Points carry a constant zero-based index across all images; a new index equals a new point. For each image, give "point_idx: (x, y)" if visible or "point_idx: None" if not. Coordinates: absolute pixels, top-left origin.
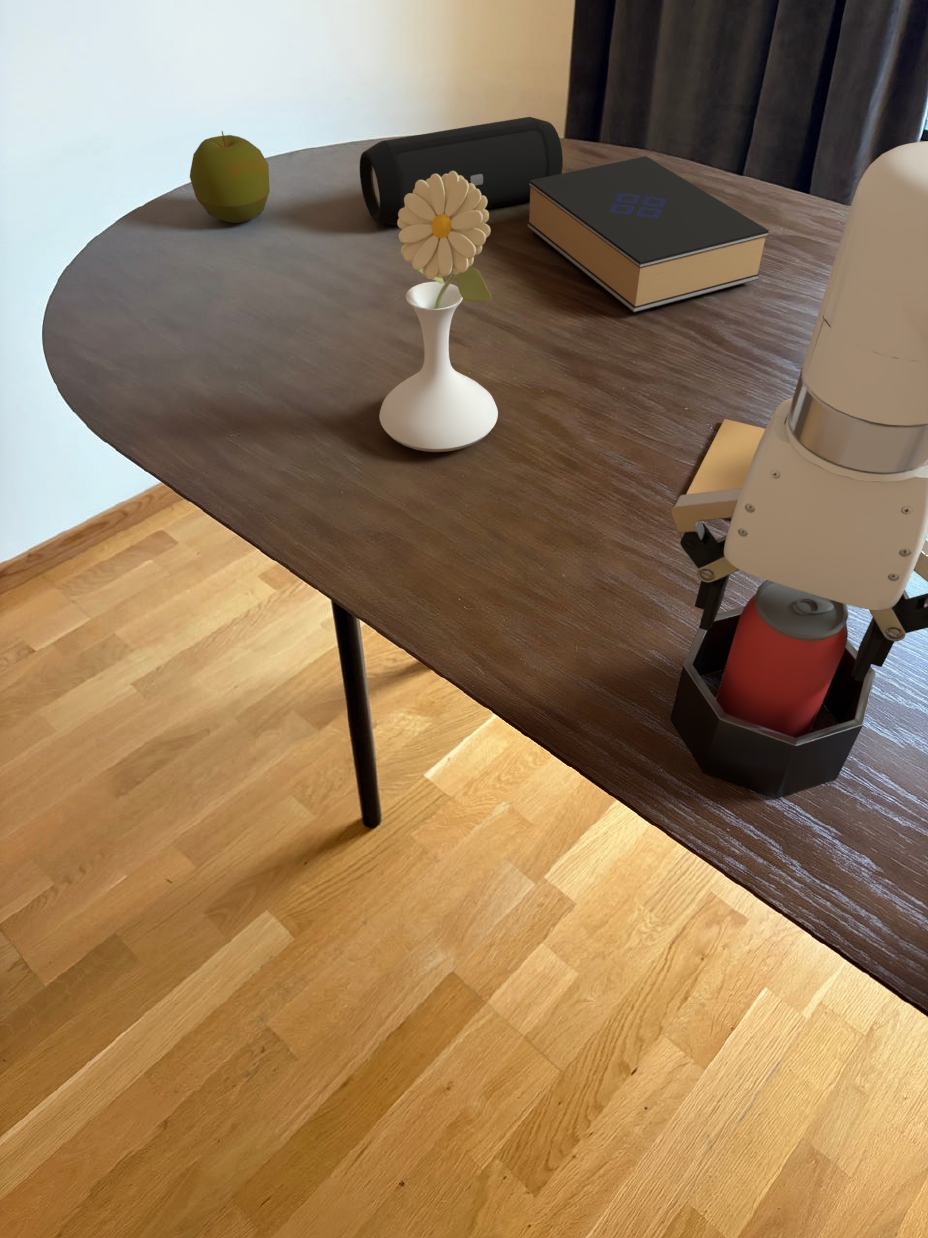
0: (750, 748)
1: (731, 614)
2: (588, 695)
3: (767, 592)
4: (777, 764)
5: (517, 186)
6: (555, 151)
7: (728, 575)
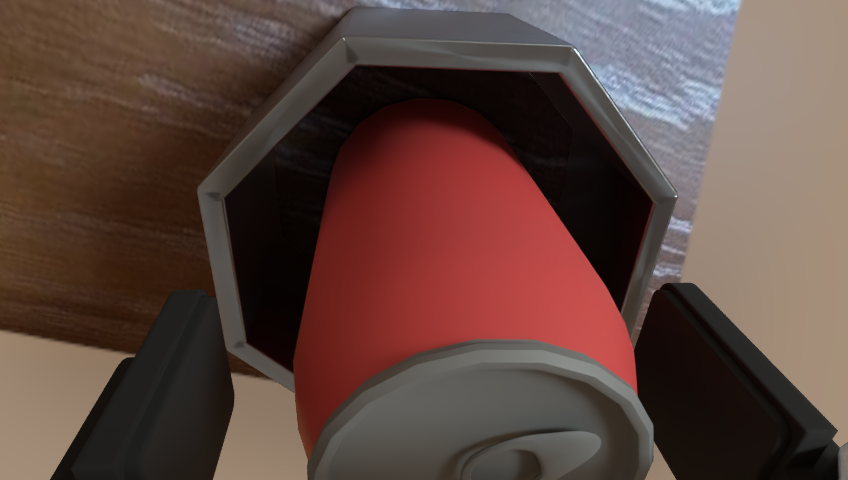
0: None
1: (267, 145)
2: (100, 247)
3: (348, 452)
4: None
5: None
6: None
7: (166, 467)
